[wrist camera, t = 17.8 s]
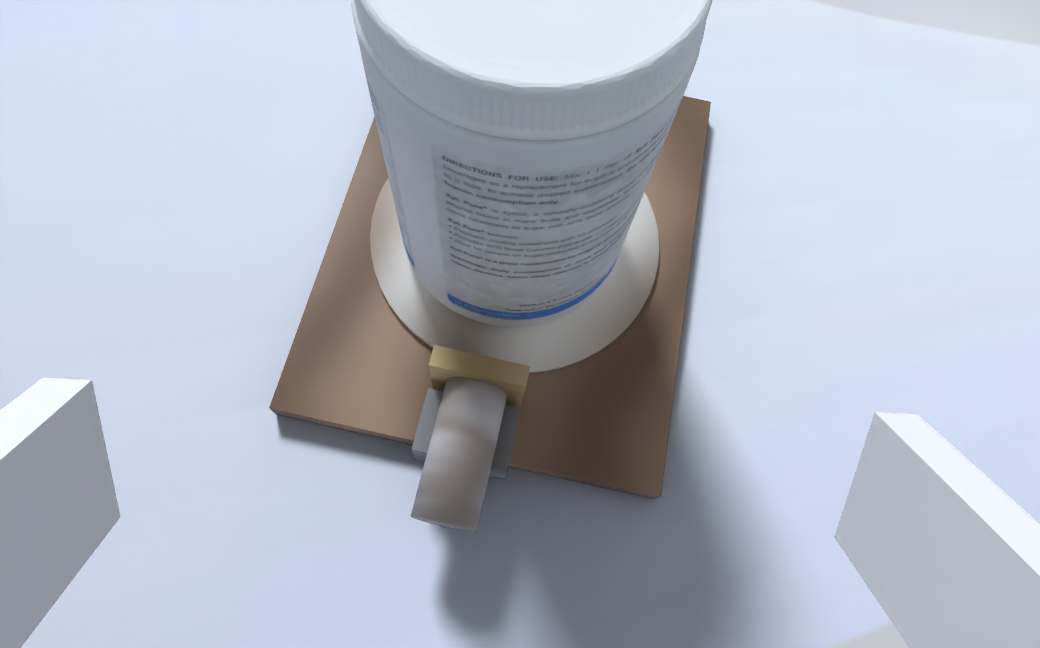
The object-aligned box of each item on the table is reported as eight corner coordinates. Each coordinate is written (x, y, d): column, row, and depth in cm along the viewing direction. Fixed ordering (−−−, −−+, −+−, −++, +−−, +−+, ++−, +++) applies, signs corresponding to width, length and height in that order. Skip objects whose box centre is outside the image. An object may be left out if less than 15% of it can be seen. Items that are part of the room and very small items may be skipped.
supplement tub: (656, 228, 31) (804, -58, 17) (525, 380, 28) (580, 177, 14) (494, 112, 33) (511, -232, 19) (355, 242, 29) (255, -57, 16)
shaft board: (250, 486, 27) (208, 466, 22) (420, 8, 36) (413, -69, 32) (644, 575, 26) (677, 572, 22) (710, 70, 36) (742, 1, 32)
